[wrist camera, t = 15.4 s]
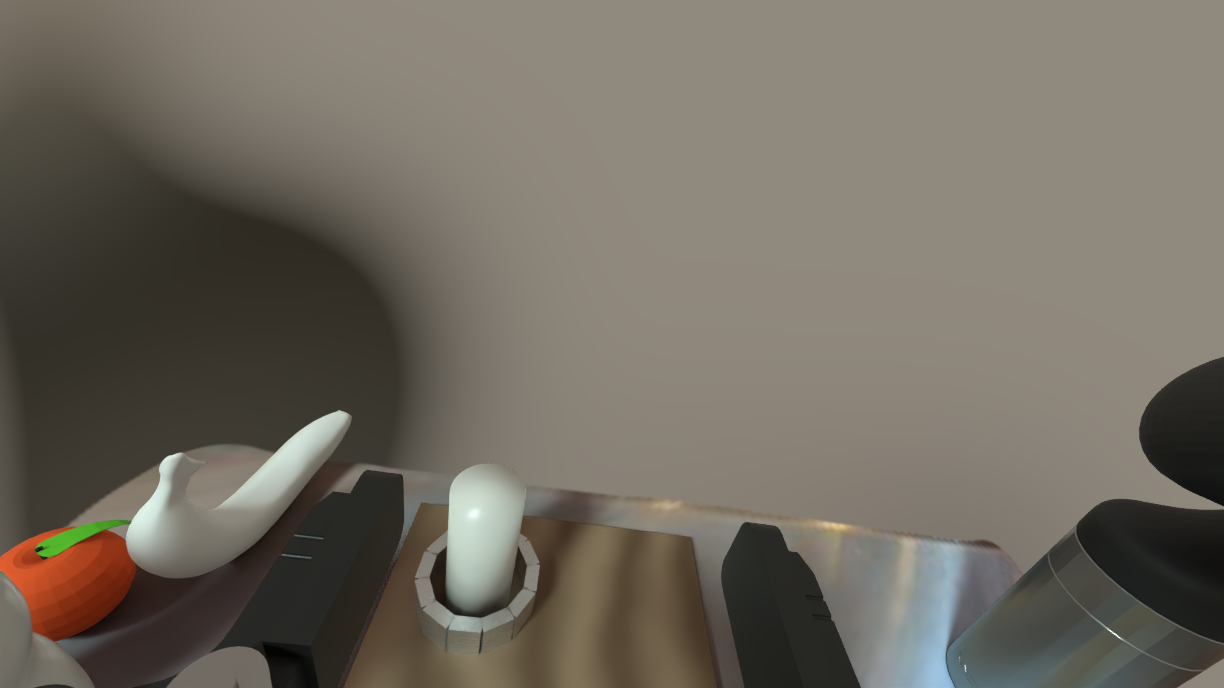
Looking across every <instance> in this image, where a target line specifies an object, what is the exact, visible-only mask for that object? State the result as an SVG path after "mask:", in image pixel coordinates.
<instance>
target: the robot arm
mask: <svg viewBox="0 0 1224 688" xmlns="http://www.w3.org/2000/svg"><path fill="white" fill-rule="evenodd" d="M1139 439H1140V442H1141V446H1142V449H1143V452H1144V453H1145V455H1146V457H1147V458H1148V460H1149V462H1150V463H1151V464H1152V465H1153V466H1154V467H1155V468H1156V469H1157V470H1158V471H1159V472H1160V473H1162V474H1163V475H1165V476H1166V477H1168V478H1169V479H1171V480H1172V481H1174V482H1175V483H1177V484H1178V485H1180V486H1182V487H1183V488H1185V489H1187V490H1189V491H1191V492H1193V493H1195V494H1198V495H1199V496H1202V497H1204V498H1206V499H1209V500H1211V501H1213V502H1215V503H1218V504H1220V505H1222V506H1224V357H1222V358H1219V359H1215V360H1212V361H1209V362H1207V363H1205V364H1202V365H1200V366H1198V367H1195V368H1193V369H1191V370H1189V371H1188V372H1186V373H1184V374H1182V375H1180V376H1179V377H1177V378H1176V379H1174V380H1173V381H1171V382H1170V383H1169V384H1167V385H1166V386H1165V387H1164V388H1163V389H1161V391H1159V392H1158V393H1157V394H1156V395H1155V396H1154V398H1153V399H1152V400H1151V401H1150V402H1149V404H1148V405H1147V407H1146V409H1145V411H1144V413H1143V415H1142V418H1141V422H1140V427H1139ZM403 524H404V490H403V476H402V475H401V474H394V473H387V472H379V471H372V470H366V471H365V472H363V474H362V475H361V476H360V478H359V480H358V481H357V483H356V485H355V486H354V488H353V490H352V491H351V493H350V494H349V493H341V492H332V493H331V494H330V495H329V496H327V497H326V498H325V499H323V500H322V501H321V502H320V503H318V504H317V505H316V506H315V507H313V508H312V509H311V510H310V511H309V513H308V514H307V516H306V517H305V519H304V520H303V522H302V523H301V525H300V526H299V528H298V529H297V531H296V532H295V535H294V537H293V538H291V540H290V541H289V543H288V544H287V546H286V547H285V549H284V550H283V552H282V555H281V557H279V558H278V559H277V561H276V562H275V564H274V565H273V567H272V568H271V570H270V571H269V573H268V574H267V576H266V577H265V579H264V580H263V582H262V583H261V585H260V586H259V588H258V589H257V591H256V592H255V594H254V595H253V597H252V598H251V600H250V601H249V603H248V604H247V606H246V607H245V609H244V610H243V612H242V613H241V615H240V616H239V618H238V619H237V621H236V622H235V624H234V625H233V627H232V628H231V630H230V631H229V632H228V634H227V635H226V636H225V638H224V639H223V640H222V641H221V642H220V644H219V645H218V646H217V647H216V648H215V649H214V650H213V651H211V652H210V653H209V654H208V655H206V656H204V657H202V658H200V659H198V660H197V661H195V662H193V663H192V664H190V665H189V666H188V667H187V668H185V669H184V670H183V671H182V672H181V673H179V674H177V675H175V676H172V677H170V678H167V679H165V680H162V681H158V682H155V683H151V684H147V685H143V686H138V687H134V688H336V687H337V685H338V683H339V680H340V678H341V676H342V673H343V671H344V669H345V667H346V664H347V662H348V660H349V657H350V655H351V653H352V650H353V648H354V646H355V644H356V641H357V639H358V637H359V634H360V632H361V630H362V627H363V625H364V623H365V620H366V618H367V616H368V614H369V611H370V609H371V607H372V604H373V602H374V600H375V597H376V595H377V593H378V591H379V588H380V586H381V584H382V581H383V579H384V577H385V574H386V572H387V570H388V567H389V565H390V563H391V561H392V558H393V556H394V554H395V551H396V549H397V547H398V544H399V541H400V538H401V534H402V530H403ZM721 580H722V588H723V593H724V597H725V601H726V606H727V610H728V615H729V619H730V624H731V628H732V633H733V637H734V642H735V646H736V651H737V655H738V660H739V664H740V668H741V673H742V677H743V682H744V686H745V688H861V687H860V685H859V682H858V680H857V677H856V675H855V672H854V670H853V668H852V665H851V663H850V660H849V658H848V655H847V653H846V651H845V648H844V646H843V643H842V641H841V638H840V636H839V633H838V631H837V629H836V626H835V624H834V621H832V620H831V614H830V612H829V609H828V607H827V604H826V602H825V601H823V595H822V592H821V590H820V587H819V585H818V582H817V580H816V577H815V575H814V573H813V572H812V570H811V569H810V568H809V567H808V565H807V564H806V563H805V561H804V560H803V559H802V558H801V556H800V555H799V554H798V552H790V551H788V549H787V546H786V543H785V541H784V538H783V535H782V533H781V531H780V529H779V528H778V527H776V526H772V525H765V524H757V523H750V522H745V523H743V524H742V526H741V528H740V530H739V532H738V533H737V535H736V537H735V539H734V541H733V543H732V545H731V547H730V549H729V551H728V553H727V555H726V557H725V559H724V561H723V565H722V573H721ZM1222 659H1224V510H1197V509H1185V508H1177V507H1170V506H1164V505H1159V504H1153V503H1148V502H1142V501H1137V500H1130V499H1113V500H1108V501H1104V502H1102V503H1100V504H1099V505H1097V506H1095V507H1094V508H1093V509H1092V510H1091V511H1090V512H1088V513H1087V514H1086V515H1085V516H1084V517H1083V518H1082V519H1081V520H1080V521H1079V522H1078V524H1077V525H1076V526H1075V527H1073V528H1072V529H1071V530H1070V531H1069V532H1068V533H1067V534H1066V535H1065V536H1064V537H1063V538H1062V539H1061V540H1060V541H1059V542H1058V543H1057V544H1056V545H1055V546H1054V547H1052V548H1051V549H1050V551H1049V552H1048V553H1047V554H1045V555H1044V556H1043V557H1042V558H1041V559H1040V560H1039V561H1038V562H1037V563H1036V564H1035V565H1034V566H1033V567H1032V568H1031V569H1030V570H1029V571H1028V572H1027V573H1025V574H1024V575H1023V576H1022V577H1021V578H1020V579H1019V580H1018V581H1017V582H1016V583H1015V584H1014V585H1013V586H1012V587H1011V588H1010V589H1009V590H1007V591H1006V592H1005V593H1004V594H1003V595H1002V596H1001V597H1000V598H999V599H998V600H997V601H996V602H995V603H994V604H993V605H992V606H991V607H990V608H988V609H987V610H986V611H985V612H984V613H983V614H982V615H981V616H980V617H979V618H978V619H977V620H976V621H975V622H973V623H972V624H971V625H970V626H969V627H968V628H967V629H966V630H965V631H964V632H963V633H962V634H961V635H960V636H959V637H958V638H957V639H956V640H955V641H954V642H953V643H952V644H951V645H950V647H949V648H948V652H947V666H948V669H949V673H950V676H951V678H952V681H953V683H954V685H955V687H956V688H1177V687H1179V686H1180V685H1182V684H1183V683H1185V682H1187V681H1188V680H1190V679H1192V678H1193V677H1195V676H1197V675H1198V674H1200V673H1202V672H1203V671H1205V670H1206V669H1208V668H1210V667H1211V666H1212V665H1214V664H1215V663H1217V662H1219V661H1220V660H1222ZM34 688H74V687H71V686H68V685H62V684H51V685H43V686H38V687H34Z"/></svg>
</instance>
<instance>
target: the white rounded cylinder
mask: <svg viewBox="0 0 1224 688" xmlns="http://www.w3.org/2000/svg"><path fill="white" fill-rule="evenodd" d="M525 499H526V485H525V483H524V481H523V479H522V477H521V476H520V475H519V474H518V473H517V472H516V471H514V470H513V469H511V468H509V467H506V466H504V465H500V464H492V463H489V464H488V463H487V464H480V465H475V466H472V467H470V468H468V469H466V470H464V471H463V472H462V473H460V474H459V475H458V476H457V477H456V478H455V480H454V481H453V483H452V485H451V488H450V497H449V518H448V539H447V560H446V581H445V607H446V609H448V610H449V611H450V612H451V613H453V614H454V615H457V616H467V617H476V618H483V617H486V616H488V615H490V614H493V613H495V612H498V611H500V610H502V609H505V608H506V607H507V604H508V601H509V597H510V591H511V585H512V579H513V572H514V566H515V560H516V554H517V548H518V542H519V536H520V530H521V524H522V517H523V511H524V505H525Z"/></svg>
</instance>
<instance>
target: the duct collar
mask: <svg viewBox="0 0 1224 688" xmlns="http://www.w3.org/2000/svg"><path fill="white" fill-rule="evenodd" d="M447 539H448V530H447V531H446V532H445V533H444V534H443V535H442V536H440V537H439V538H438V539H437V540H436V541H435V542H434V543H432V544H431V545H430V546H429V547H428V548H427V549H426V551H425V552H424V554H423V557H422V560H421V562H420V565H419V568H418V570H417V573H416V576H415V607H416V612H417V616H418V620H419V624H420V629H421V631H422V633H423V634H424V635H425V636H427V637H428V638H429V639H430V640H431V641H432V642H434V643H435V644H436V645H437V646H438V647H440V648H441V649H442V650H443V651H444V652H445V650H446V649H447V653H456V654H467V655H477V656H478V654H479V650H480V653H481V655H482V654H485V653H487V652H489V651H491V650H493V649H495V648H498V647H500V646H502V645H504V644H506V643H508V642H510V640H511V639H512V640H513V639H514V637H515V636H516V635H517V633H518V632H519V631H520V629H521V628H522V627H523V625H524V624H525V623H526V621H527V620H528V619H529V617H530V616H531V613H532V610H533V605H534V600H535V595H536V590H537V583H538V575H539V568H540V565H539V563H540V562H539V560H538V558H537V556H536V554H535V552H534V550H533V547H532V545H531V543H530V541H527V540H528V538H526V537H525V536H523V535H522V534H520V536H519V542H518V548H517V554H516V560H515V566H514V568H515V570H516V572H517V575H518V577H519V579H520V582H521V584H522V586H523V589H522V590H521V591H520V593H519V594H518V595H517V596H516V597H515V599H514V600H513V601H512V602H511V604H510V605H509V606H508V607H507V608H505V609H502V610H500V611H498V612H495V613H493V614H490V615H488V616H486V617H483V618H476V617H467V616H457V615H454V614H453V613H451V612H450V611H449V610H448V609H446V608H445V607H444V606H443V605H441V604H440V603H439V602H438V601H436V600H435V596H434V593H433V586H434V583H435V580H436V578H437V577H438V576H439V575H440V574H441V573H442V572H443V571H444V570H445V569H446V560H447Z"/></svg>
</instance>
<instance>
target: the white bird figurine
mask: <svg viewBox="0 0 1224 688" xmlns="http://www.w3.org/2000/svg"><path fill="white" fill-rule="evenodd" d="M351 418H352V417H351V416H350V415H349V414H347V413H345V412H343V411H340V410H339V411H337V412H334V413H331V414H329V415H326V416H324V417H322V418H320V419H318V420H316V421H314V422H312V423H311V424H309V425H307V426H306V427H304V428H303V429H302V430H300V431H299V432H298V433H296V434H295V435H294V436H293V437H292V438H290V439H289V440H288V441H287V442H286V443H285V444H284V445H283V446H282V447H281V448H280V449H279V450H278V451H277V452H276V453H275V454H274V455H273V456H272V457H271V458H270V459H269V460H268V461H267V462H266V463H265V464H264V465H263V466H262V467H261V468H260V469H259V470H258V471H257V472H256V473H255V474H254V475H253V476H252V477H251V478H250V479H249V480H248V481H247V482H246V483H245V484H244V485H243V486H242V487H241V488H240V489H239V490H237V491H236V492H235V493H234V494H233V495H232V496H231V497H230V498H229V499H227V500H226V501H225V502H224V503H222V504H221V505H220V506H218V507H216V508H213V509H209V510H207V509H201V508H199V507H197V506H196V505H195V504H194V503H193V502H192V501H191V500H190V499H189V498H188V497H187V496H186V495H185V491H186V488H187V485H188V482H189V480H190V478H191V476H192V475H193V474H194V473H195V472H196V471H197V470H198V469H199V468H200V467H201V466H203V465H204V464H206V463H207V462H205V461H198V460H194V459H192V458H190V457H187V456H186V454H184V453H177V454H174V455H170V456H168V457H166V458H165V459H164V460H163V461H162V463H161V465H160V467H159V472H160V474H161V478H160V482H159V485H158V488H157V490H156V491H155V493H154V494H153V496H152V497H151V499H150V500H149V501H148V502H147V503H146V504H145V505H144V506H143V507H142V508H141V509H140V510H139V511H138V513H137V514H136V515H135V517H134V519H133V520H132V522H131V524H130V526H129V528H128V532H127V535H126V546H127V550H128V553H129V555H130V557H131V559H132V560H133V561H134V562H135V563H136V564H137V565H138V566H139V567H141V568H142V569H144V570H146V571H147V572H149V573H152V574H155V575H158V576H161V577H165V578H189V577H195V576H200V575H202V574H205V573H208V572H210V571H212V570H214V569H217V568H219V567H221V566H223V565H225V564H226V563H228V562H230V561H232V560H233V559H235V558H236V557H238V556H239V555H241V554H242V553H243V552H245V551H246V550H247V549H249V548H250V547H252V546H253V545H254V544H255V543H256V542H257V541H258V540H260V539H261V538H262V537H263V535H264V534H265V533H266V532H267V531H268V530H269V529H270V528H271V527H272V526H273V525H274V523H275V522H276V521H277V520H278V519H279V518H280V516H281V515H282V514H283V513H284V512H285V510H286V509H287V508H288V507H289V505H290V504H291V503H292V502H293V501H294V499H295V498H296V497H297V496H298V494H299V493H300V492H301V491H302V489H303V488H304V487H305V486H306V484H307V483H308V482H309V481H310V479H311V478H312V477H313V475H314V474H315V473H316V472H317V471H318V470H319V468H320V467H321V466H322V465H323V464H324V463H325V462H326V461H327V459H328V458H329V457H330V456H331V455H332V453H333V452H334V451H335V449H336V448H337V446H338V445H339V443H340V442H341V440H342V438H343V436H344V434H345V433H346V431H347V429H348V428H349V425H350V422H351Z"/></svg>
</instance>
